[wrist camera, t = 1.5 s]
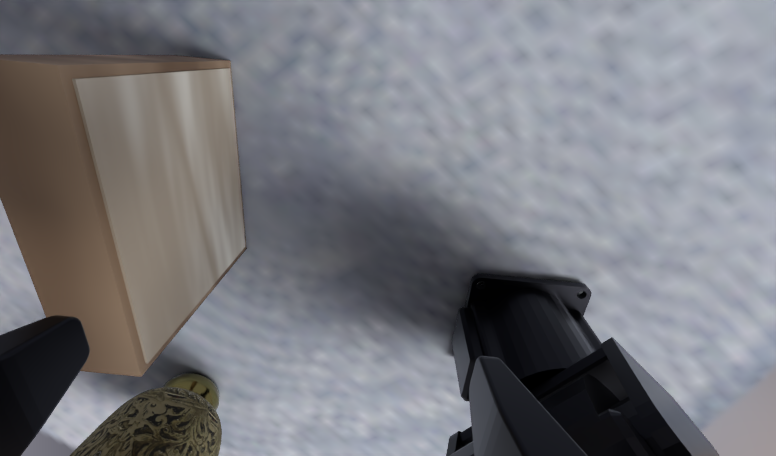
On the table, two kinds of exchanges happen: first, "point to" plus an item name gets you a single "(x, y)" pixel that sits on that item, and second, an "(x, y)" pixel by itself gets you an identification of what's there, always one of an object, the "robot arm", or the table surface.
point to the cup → (162, 422)
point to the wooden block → (121, 192)
